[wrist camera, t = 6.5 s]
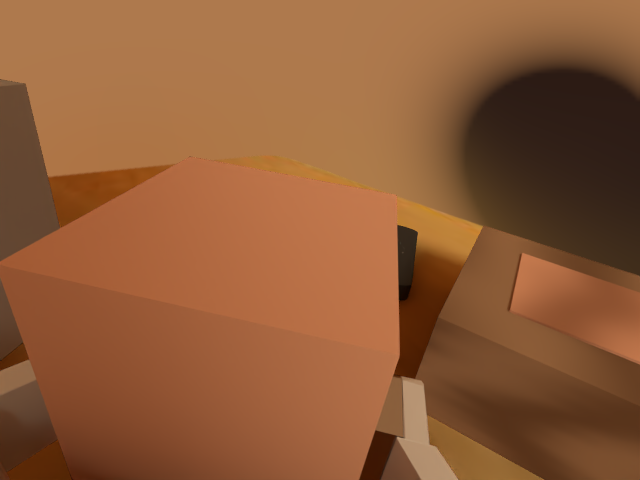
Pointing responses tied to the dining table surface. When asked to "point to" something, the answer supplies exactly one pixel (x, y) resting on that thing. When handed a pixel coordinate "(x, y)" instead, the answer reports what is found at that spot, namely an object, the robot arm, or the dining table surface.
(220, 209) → the terracotta block
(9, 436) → the robot arm
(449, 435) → the dining table surface
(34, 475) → the dining table surface
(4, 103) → the grey block
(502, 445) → the walnut base block
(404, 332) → the dining table surface
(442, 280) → the dining table surface
